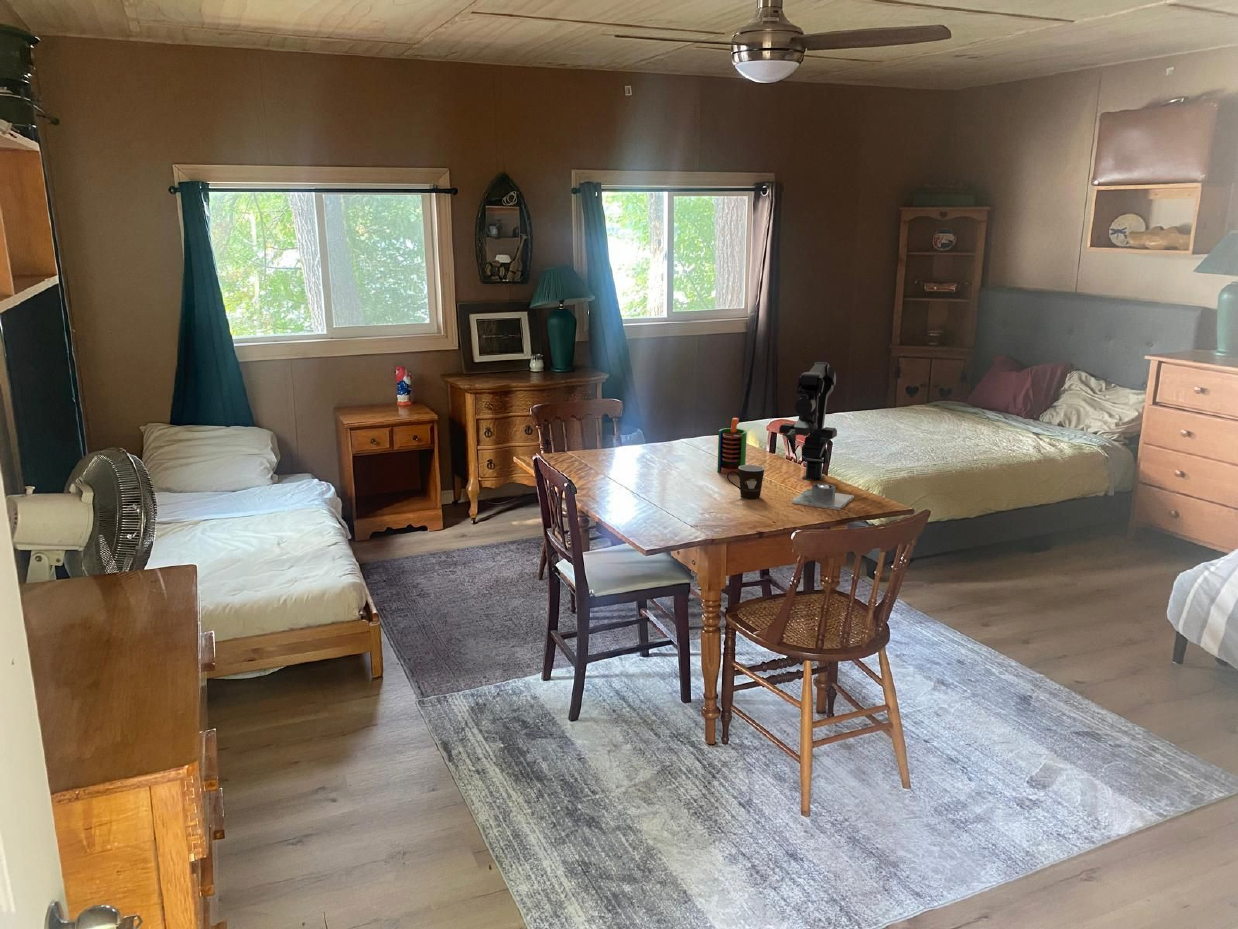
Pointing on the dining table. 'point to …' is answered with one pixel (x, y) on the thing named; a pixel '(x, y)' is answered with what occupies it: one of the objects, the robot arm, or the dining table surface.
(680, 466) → the dining table surface
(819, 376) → the robot arm
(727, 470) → the motor
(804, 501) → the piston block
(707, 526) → the dining table surface
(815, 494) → the octagonal hollow lampshade
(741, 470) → the coffee mug
